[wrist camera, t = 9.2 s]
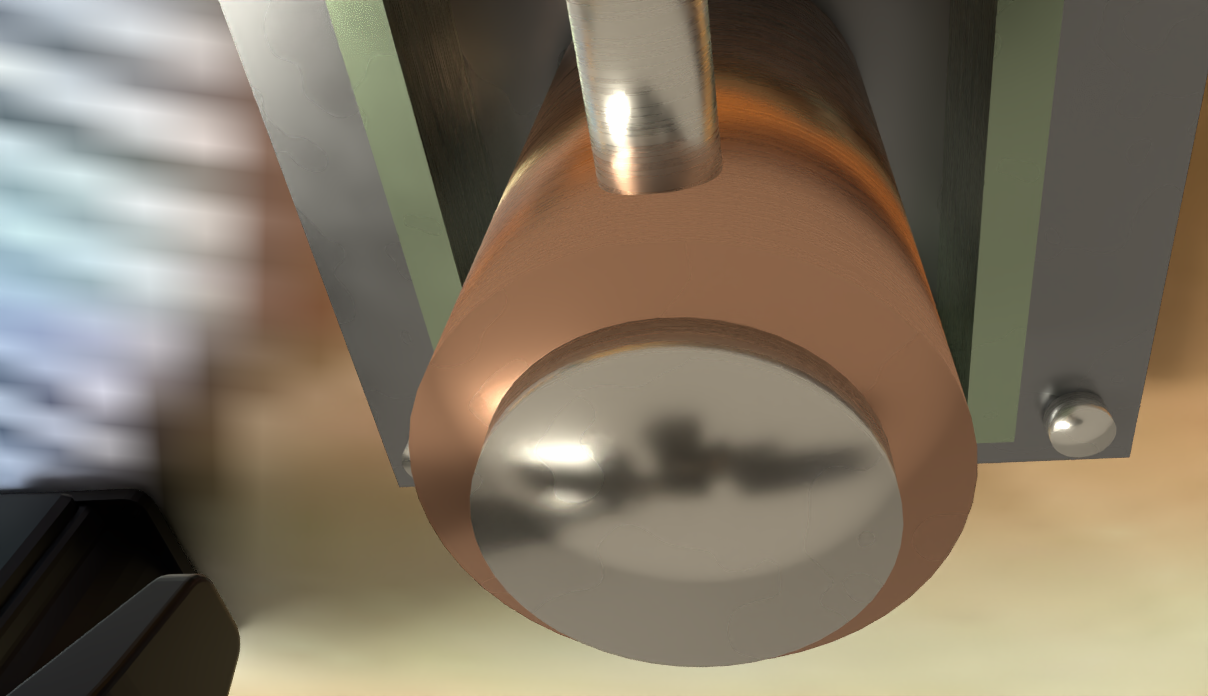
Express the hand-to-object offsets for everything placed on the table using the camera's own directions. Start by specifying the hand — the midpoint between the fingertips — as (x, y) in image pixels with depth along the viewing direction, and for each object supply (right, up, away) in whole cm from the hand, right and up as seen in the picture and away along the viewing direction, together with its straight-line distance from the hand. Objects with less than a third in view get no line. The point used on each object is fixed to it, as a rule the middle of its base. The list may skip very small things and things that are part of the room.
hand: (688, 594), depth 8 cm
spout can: (+1, +6, +8) cm, 10 cm away
